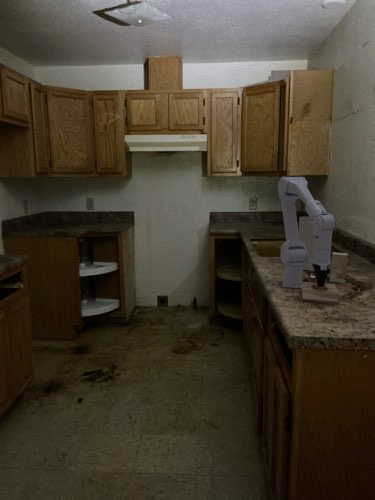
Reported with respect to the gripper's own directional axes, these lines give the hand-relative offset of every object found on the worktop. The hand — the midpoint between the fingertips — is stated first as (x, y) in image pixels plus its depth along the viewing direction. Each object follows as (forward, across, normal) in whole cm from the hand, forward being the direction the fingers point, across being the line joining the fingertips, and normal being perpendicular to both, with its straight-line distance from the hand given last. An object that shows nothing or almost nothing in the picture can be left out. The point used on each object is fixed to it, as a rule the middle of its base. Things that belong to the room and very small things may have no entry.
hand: (319, 285), depth 139 cm
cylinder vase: (+5, -49, +1) cm, 49 cm away
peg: (+2, 0, 0) cm, 2 cm away
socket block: (+5, 0, 0) cm, 5 cm away
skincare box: (+5, -27, +10) cm, 29 cm away
